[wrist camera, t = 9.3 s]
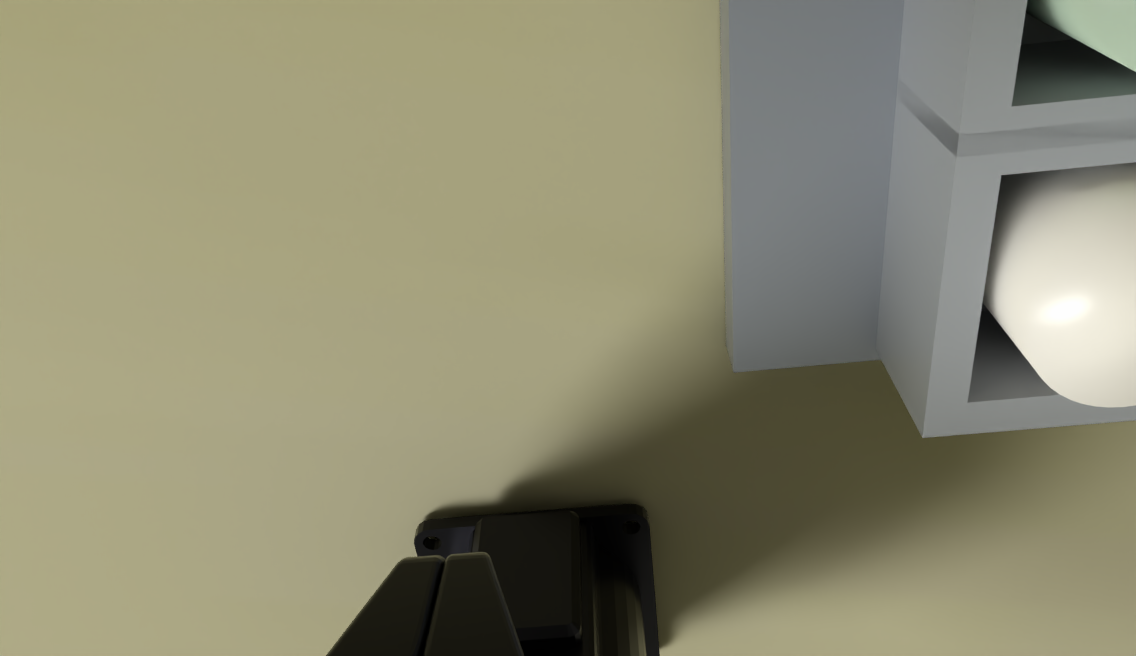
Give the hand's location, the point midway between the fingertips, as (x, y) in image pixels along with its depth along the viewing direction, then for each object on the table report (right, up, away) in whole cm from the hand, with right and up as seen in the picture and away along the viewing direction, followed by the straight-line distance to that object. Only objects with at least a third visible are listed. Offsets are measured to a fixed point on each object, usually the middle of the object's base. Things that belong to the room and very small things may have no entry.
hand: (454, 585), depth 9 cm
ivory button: (+11, +5, +10) cm, 16 cm away
